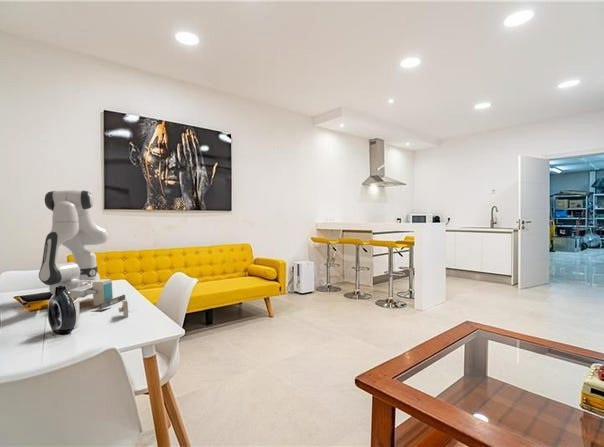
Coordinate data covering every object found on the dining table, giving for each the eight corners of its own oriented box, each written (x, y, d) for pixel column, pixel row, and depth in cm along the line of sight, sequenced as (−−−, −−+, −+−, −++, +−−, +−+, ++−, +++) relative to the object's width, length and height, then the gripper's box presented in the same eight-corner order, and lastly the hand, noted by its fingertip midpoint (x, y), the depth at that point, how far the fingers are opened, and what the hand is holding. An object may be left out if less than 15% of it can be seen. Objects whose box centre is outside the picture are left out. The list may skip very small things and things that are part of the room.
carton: (93, 305, 159) (92, 281, 159) (102, 301, 165) (101, 279, 165) (104, 305, 158) (103, 282, 158) (113, 302, 164) (112, 279, 164)
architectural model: (119, 319, 143) (118, 303, 142) (118, 315, 148) (117, 300, 148) (128, 318, 144) (127, 302, 144) (127, 314, 150) (126, 298, 150)
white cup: (85, 324, 136) (83, 301, 136) (70, 331, 128) (68, 307, 128) (68, 324, 137) (67, 301, 137) (52, 331, 129) (50, 307, 129)
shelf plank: (61, 310, 157) (60, 302, 157) (88, 301, 173) (88, 293, 172) (102, 312, 153) (101, 303, 153) (125, 302, 168) (125, 294, 168)
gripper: (61, 287, 153) (86, 288, 151) (96, 278, 173) (118, 278, 171) (62, 300, 154) (87, 301, 151) (96, 289, 174) (118, 290, 171)
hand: (104, 289), depth 161 cm, fingers open, 8 cm apart
